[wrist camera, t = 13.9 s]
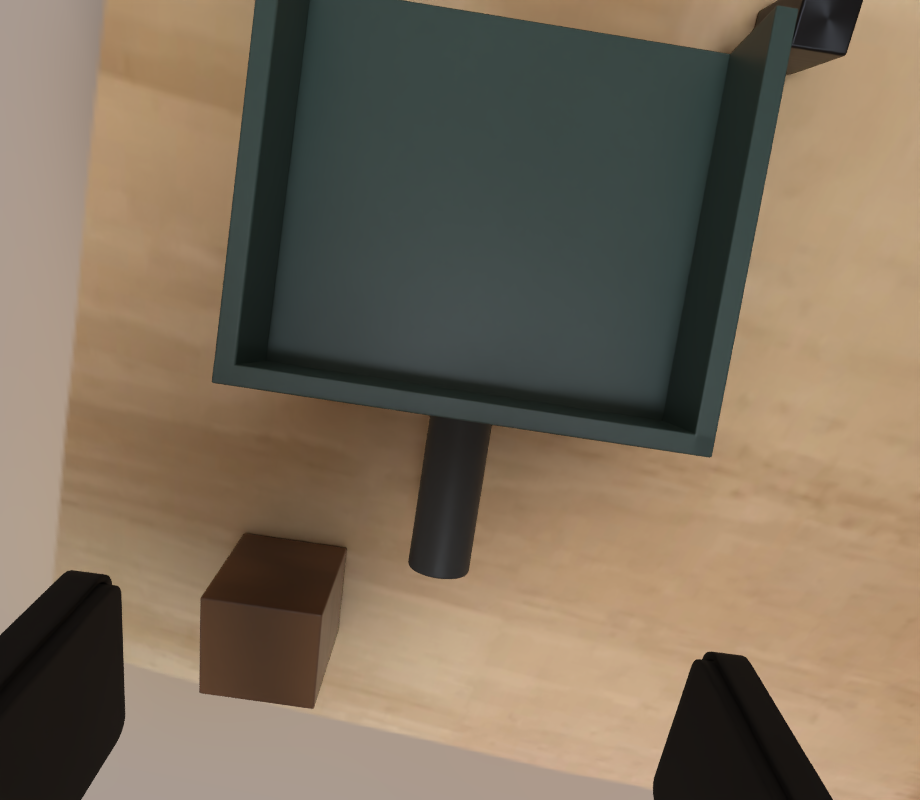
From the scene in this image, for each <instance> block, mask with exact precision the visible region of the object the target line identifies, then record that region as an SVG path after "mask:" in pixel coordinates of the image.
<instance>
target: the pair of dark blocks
mask: <svg viewBox="0 0 920 800" xmlns="http://www.w3.org/2000/svg"><path fill="white" fill-rule="evenodd" d="M862 2H863V0H777V1H776V2H774V3H772V4H771V5H769V6H767V7H766V8H764V9H762V10H761V11H760V12H759V14H758V18H757V21H756V25H755V28H756V27H757V26H758V25H759V24H760V22H761V21H762V20H763V19H764V18H765V17H766V16H767V15H768V14H769V13H770V12H771V11H772V10H773V9H774V8H775V7H776V6H778V5H779V6H785V7H791V8H797V9H798V15H797V20H796V25H795V30H794V35H793V40H792V46H791V51H790V56H789V61H788V66H787V71H786V74H793V73H796V72H799V71H802V70H805V69H808V68H811V67H814V66H816V65H819V64H822V63H825V62H828V61H831V60H834V59H837V58H840V57H842V56H845V55H846V53H847V50H848V47H849V43H850V40H851V37H852V34H853V31H854V28H855V24H856V21H857V18H858V15H859V12H860V8H861V5H862Z"/></svg>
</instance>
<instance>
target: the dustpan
mask: <svg viewBox="0 0 920 800" xmlns="http://www.w3.org/2000/svg"><path fill="white" fill-rule="evenodd" d="M797 15H798V9H797V8H791V7H785V6H779V5H778V6H776V7H775V8H774V9H773V10H772V11H771V12H770V13H769V14H768V15H767V16H766V17H765V18H764V19H763V20H762V21H761V22H760V24H759V25H758V26H757V27H756V28H755V29H754V30H753V31H752V32H751V33H750V34H749V35H748V36H747V37H746V38H745V39H744V40H743V41H742V42H741V43H740V44H739V45H738V46H737V47H736V48H735V49H734V51H733V52H732V53H731V54H727V53H721V52H714V51H708V50H702V49H696V48H690V47H684V46H678V45H672V44H666V43H660V42H653V41H647V40H641V39H635V38H629V37H623V36H617V35H611V34H605V33H599V32H592V31H586V30H580V29H574V28H568V27H562V26H556V25H550V24H544V23H537V22H531V21H525V20H519V19H513V18H507V17H501V16H495V15H489V14H483V13H476V12H470V11H464V10H458V9H452V8H446V7H440V6H434V5H428V4H422V3H415V2H409V1H403V0H255V9H254V18H253V26H252V35H251V44H250V53H249V62H248V70H247V79H246V88H245V97H244V106H243V114H242V123H241V132H240V141H239V150H238V158H237V167H236V176H235V185H234V194H233V202H232V211H231V220H230V229H229V238H228V246H227V255H226V264H225V273H224V282H223V291H222V299H221V308H220V317H219V326H218V335H217V343H216V352H215V361H214V367H213V376H212V382H213V383H217V384H224V385H231V386H237V387H244V388H251V389H257V390H264V391H271V392H277V393H284V394H291V395H297V396H304V397H311V398H317V399H324V400H330V401H337V402H344V403H350V404H357V405H364V406H370V407H377V408H384V409H390V410H397V411H404V412H410V413H417V414H424V415H430V420H429V427H428V433H427V440H426V447H425V453H424V460H423V467H422V474H421V480H420V487H419V494H418V501H417V507H416V514H415V521H414V527H413V534H412V541H411V548H410V554H409V561H408V563H409V566H410V567H411V568H412V569H413V570H414V571H416V572H418V573H420V574H422V575H425V576H429V577H433V578H439V579H457V578H461V577H463V576H465V575H466V574H467V573H468V571H469V565H470V559H471V552H472V546H473V540H474V533H475V527H476V521H477V514H478V508H479V502H480V496H481V489H482V483H483V477H484V470H485V464H486V458H487V451H488V445H489V439H490V432H491V426H492V425H497V426H503V427H510V428H517V429H523V430H530V431H537V432H543V433H550V434H557V435H563V436H570V437H577V438H583V439H590V440H597V441H603V442H610V443H617V444H623V445H630V446H637V447H643V448H650V449H657V450H663V451H670V452H676V453H683V454H690V455H696V456H703V457H712V452H713V447H714V442H715V437H716V431H717V426H718V421H719V416H720V411H721V406H722V401H723V395H724V390H725V385H726V380H727V375H728V370H729V365H730V359H731V354H732V349H733V344H734V339H735V334H736V329H737V323H738V318H739V313H740V308H741V303H742V298H743V293H744V287H745V282H746V277H747V272H748V267H749V262H750V257H751V251H752V246H753V241H754V236H755V231H756V226H757V221H758V215H759V210H760V205H761V200H762V195H763V190H764V185H765V179H766V174H767V169H768V164H769V159H770V154H771V149H772V143H773V138H774V133H775V128H776V123H777V118H778V112H779V107H780V102H781V97H782V92H783V87H784V82H785V76H786V71H787V66H788V61H789V56H790V51H791V46H792V40H793V35H794V30H795V25H796V20H797Z"/></svg>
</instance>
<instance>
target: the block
mask: <svg viewBox="0 0 920 800" xmlns="http://www.w3.org/2000/svg"><path fill="white" fill-rule="evenodd" d="M346 551H347V550H346V548H342V547H335V546H328V545H321V544H314V543H308V542H301V541H294V540H287V539H280V538H273V537H266V536H259V535H253V534H246V533H245V534H243V536H242V537H241V539H240V540H239V542H238V543H237V545H236V546H235V548H234V549H233V551H232V552H231V554H230V555H229V557H228V558H227V560H226V561H225V563H224V564H223V566H222V567H221V569H220V570H219V571H218V573H217V574H216V576H215V577H214V579H213V580H212V582H211V583H210V585H209V586H208V588H207V589H206V591H205V592H204V594H203V595H202V597H201V610H200V691H199V692H200V693H203V694H211V695H218V696H225V697H232V698H240V699H246V700H253V701H260V702H268V703H275V704H282V705H289V706H296V707H303V708H310V709H313V708H314V706H315V703H316V700H317V697H318V694H319V691H320V687H321V684H322V681H323V678H324V675H325V672H326V668H327V665H328V662H329V659H330V656H331V653H332V649H333V646H334V643H335V640H336V637H337V634H338V628H339V619H340V609H341V599H342V589H343V580H344V570H345V560H346Z"/></svg>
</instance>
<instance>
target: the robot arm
mask: <svg viewBox="0 0 920 800" xmlns="http://www.w3.org/2000/svg"><path fill="white" fill-rule="evenodd" d="M123 665H124V663H123V632H122V601H121V589H120V588H119V587H118V586H115V585H112V581H111V579H110V577H109V576H108V575H104V574H97V573H89V572H81V571H73V570H71V571H67V572H66V573H64V574H63V575H62V576H61V577H59V578H58V579H57V580H56V581H55V582H54V583H53V584H52V585H51V586H50V587H49V588H48V589H47V590H46V591H45V592H44V593H43V594H42V595H41V596H40V597H39V598H38V599H37V600H36V601H35V602H34V603H33V604H32V605H31V606H30V607H29V608H28V609H27V610H26V611H25V612H24V613H23V614H22V615H21V616H19V617H18V619H16V620H15V621H14V622H13V623H12V624H11V625H10V626H9V627H8V628H7V629H6V630H5V631H4V632H3V633H2V634H1V635H0V800H81V799H82V797H83V796H84V794H85V793H86V791H87V789H88V788H89V786H90V785H91V783H92V781H93V780H94V778H95V776H96V775H97V773H98V772H99V770H100V768H101V767H102V765H103V763H104V762H105V760H106V759H107V757H108V755H109V754H110V752H111V751H112V749H113V747H114V746H115V744H116V743H117V741H118V739H119V737H120V734H121V732H122V729H123V725H124V721H125V696H124V666H123ZM653 795H654V800H833V799H832V797H831V796H830V794H829V792H828V791H827V789H826V787H825V786H824V784H823V782H822V781H821V779H820V777H819V776H818V774H817V772H816V771H815V769H814V768H813V766H812V764H811V763H810V761H809V760H808V758H807V756H806V755H805V753H804V751H803V750H802V748H801V746H800V745H799V743H798V741H797V740H796V738H795V736H794V735H793V733H792V731H791V730H790V728H789V726H788V725H787V723H786V721H785V720H784V718H783V716H782V715H781V713H780V711H779V710H778V708H777V706H776V705H775V703H774V701H773V700H772V698H771V696H770V695H769V693H768V691H767V690H766V688H765V686H764V685H763V683H762V681H761V680H760V678H759V677H758V675H757V673H756V672H755V670H754V668H753V667H752V665H751V663H750V662H749V661H748V659H747V658H746V657H744V656H741V655H733V654H726V653H718V652H707V653H706V654H705V655H704V656H703V659H702V660H700V659H698V660H695V661H694V662H693V664H692V666H691V669H690V672H689V675H688V678H687V681H686V684H685V687H684V690H683V693H682V696H681V699H680V702H679V705H678V708H677V711H676V714H675V717H674V720H673V723H672V726H671V729H670V732H669V735H668V738H667V741H666V744H665V747H664V750H663V753H662V756H661V759H660V762H659V765H658V768H657V771H656V774H655V777H654V782H653Z"/></svg>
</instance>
